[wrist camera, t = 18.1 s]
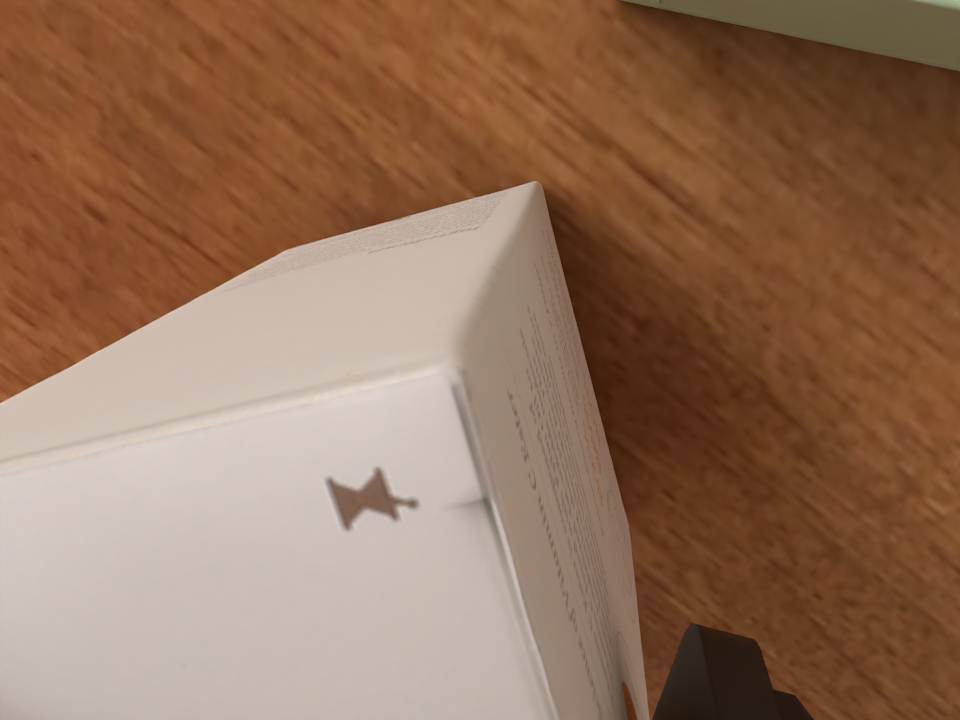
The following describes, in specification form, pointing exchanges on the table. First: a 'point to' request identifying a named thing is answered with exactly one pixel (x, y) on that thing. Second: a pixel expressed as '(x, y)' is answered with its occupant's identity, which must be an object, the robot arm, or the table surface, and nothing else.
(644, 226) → the table surface
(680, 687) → the robot arm
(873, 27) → the sage bin
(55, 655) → the small box
